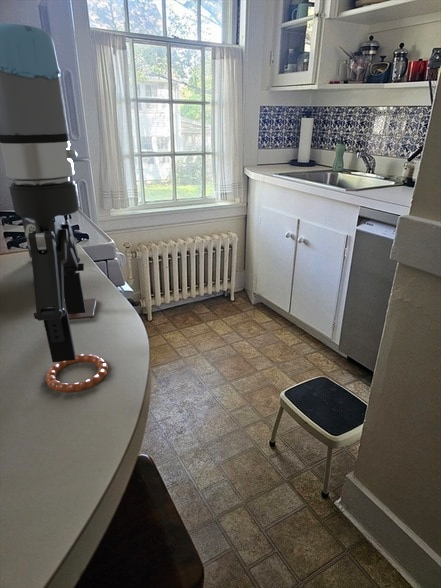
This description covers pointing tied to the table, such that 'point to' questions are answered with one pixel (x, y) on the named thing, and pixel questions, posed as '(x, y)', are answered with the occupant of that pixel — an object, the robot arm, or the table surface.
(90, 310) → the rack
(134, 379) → the table surface
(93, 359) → the ring
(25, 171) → the robot arm
